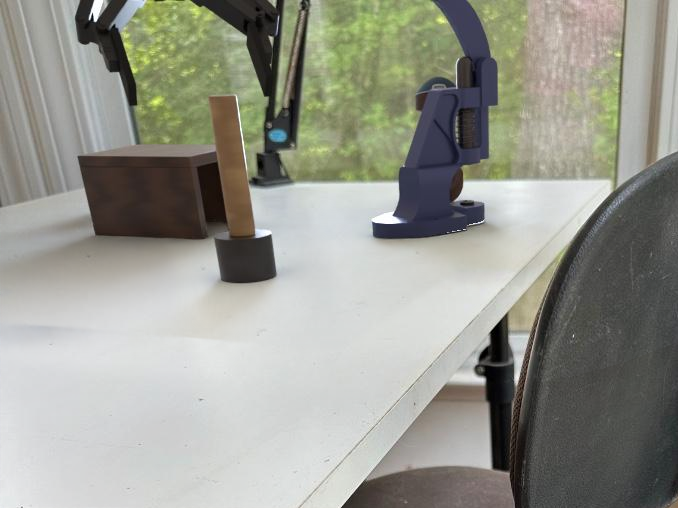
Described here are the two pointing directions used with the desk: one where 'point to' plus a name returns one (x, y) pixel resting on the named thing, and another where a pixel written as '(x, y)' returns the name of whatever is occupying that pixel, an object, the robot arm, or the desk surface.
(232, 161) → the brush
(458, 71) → the hand press
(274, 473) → the desk surface
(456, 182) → the headphones
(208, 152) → the shelf
